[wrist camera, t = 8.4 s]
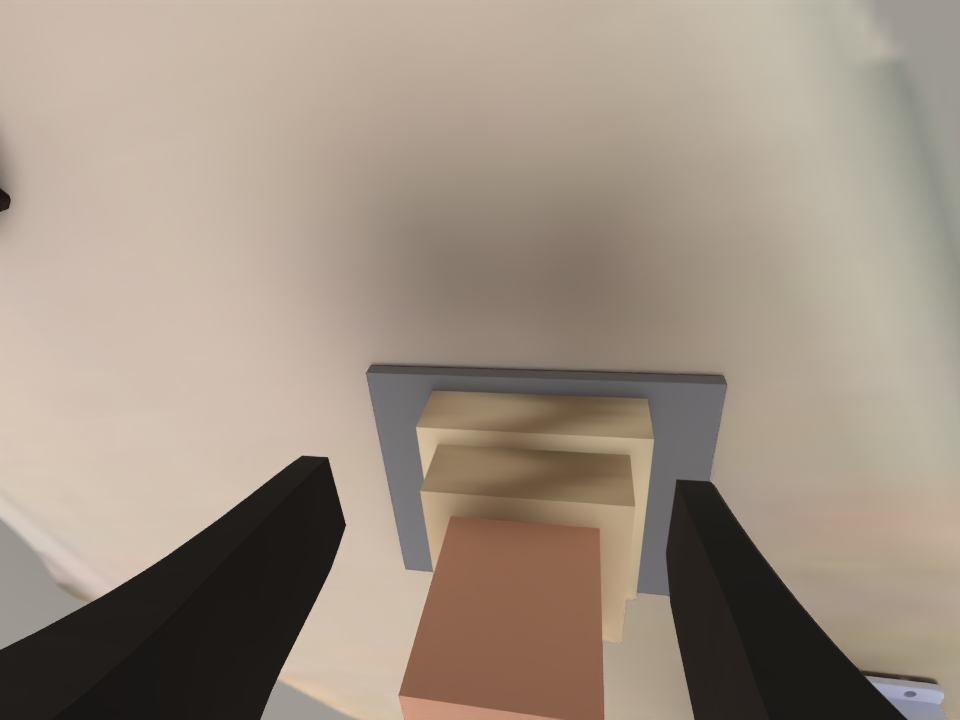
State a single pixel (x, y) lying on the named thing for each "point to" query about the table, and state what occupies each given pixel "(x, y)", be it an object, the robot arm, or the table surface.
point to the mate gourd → (4, 201)
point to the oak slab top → (540, 503)
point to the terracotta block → (510, 626)
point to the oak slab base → (547, 435)
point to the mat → (671, 398)
